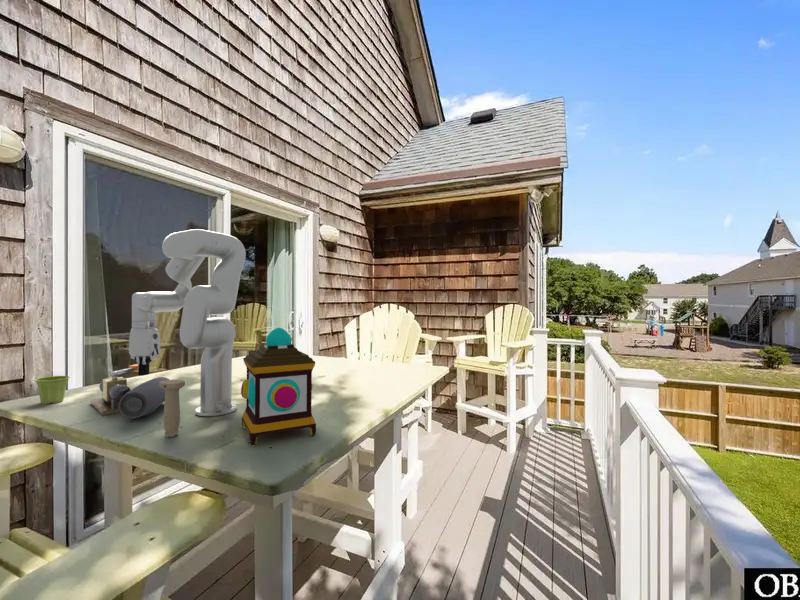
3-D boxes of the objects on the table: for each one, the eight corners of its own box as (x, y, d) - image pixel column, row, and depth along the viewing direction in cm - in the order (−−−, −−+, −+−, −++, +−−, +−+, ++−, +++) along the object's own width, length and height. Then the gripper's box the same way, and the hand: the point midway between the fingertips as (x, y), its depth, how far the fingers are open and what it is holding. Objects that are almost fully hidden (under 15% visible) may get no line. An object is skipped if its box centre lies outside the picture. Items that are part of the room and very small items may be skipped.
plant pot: (53, 398, 145) (53, 375, 145) (76, 399, 144) (76, 375, 144) (27, 404, 135) (27, 380, 135) (51, 405, 134) (51, 381, 134)
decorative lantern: (322, 437, 107) (323, 329, 106) (246, 450, 97) (247, 331, 97) (302, 417, 124) (303, 324, 124) (236, 427, 114) (237, 326, 114)
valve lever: (115, 375, 133) (115, 370, 133) (108, 375, 133) (108, 370, 133) (145, 368, 147) (145, 363, 147) (138, 368, 147) (138, 363, 147)
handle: (174, 440, 103) (175, 384, 103) (154, 437, 105) (155, 382, 105) (188, 433, 108) (188, 380, 108) (168, 432, 109) (169, 379, 109)
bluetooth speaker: (146, 403, 138) (146, 375, 138) (175, 402, 140) (175, 375, 140) (115, 423, 116) (115, 390, 116) (149, 421, 118) (150, 389, 118)
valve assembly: (146, 407, 133) (146, 377, 133) (103, 415, 124) (103, 382, 124) (130, 397, 146) (131, 369, 146) (90, 403, 137) (91, 373, 137)
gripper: (169, 325, 145) (169, 373, 145) (135, 324, 148) (135, 372, 148) (153, 326, 138) (152, 377, 138) (118, 325, 141) (117, 375, 141)
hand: (143, 374), depth 143 cm, fingers closed
